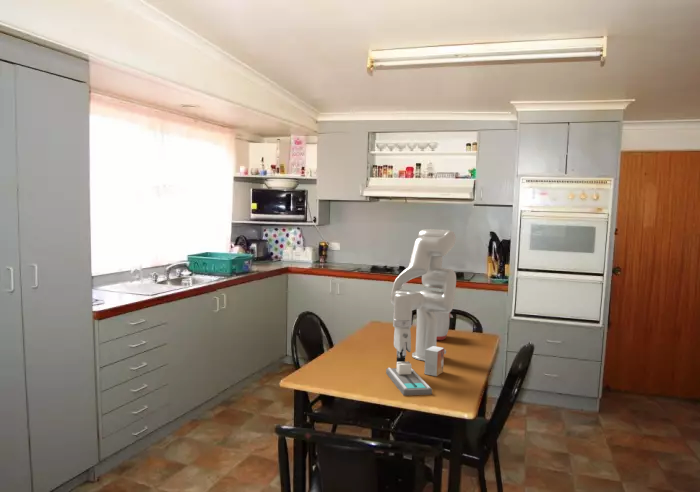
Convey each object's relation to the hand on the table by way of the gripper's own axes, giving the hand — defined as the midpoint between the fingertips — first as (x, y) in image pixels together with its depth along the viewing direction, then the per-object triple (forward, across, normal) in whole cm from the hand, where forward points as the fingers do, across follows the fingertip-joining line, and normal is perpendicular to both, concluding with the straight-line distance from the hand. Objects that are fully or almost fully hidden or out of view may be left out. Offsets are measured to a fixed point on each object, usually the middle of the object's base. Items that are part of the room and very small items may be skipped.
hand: (400, 366), depth 203 cm
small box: (+4, +1, -15) cm, 16 cm away
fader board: (+3, -10, 0) cm, 10 cm away
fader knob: (+1, -4, 0) cm, 4 cm away
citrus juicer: (+3, +57, -37) cm, 68 cm away
